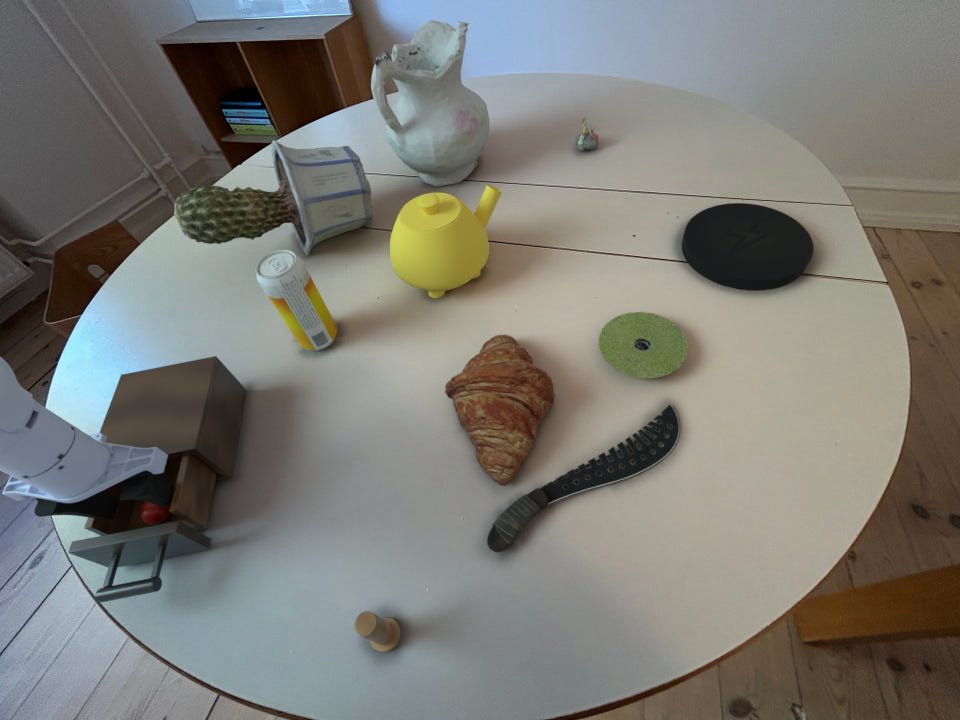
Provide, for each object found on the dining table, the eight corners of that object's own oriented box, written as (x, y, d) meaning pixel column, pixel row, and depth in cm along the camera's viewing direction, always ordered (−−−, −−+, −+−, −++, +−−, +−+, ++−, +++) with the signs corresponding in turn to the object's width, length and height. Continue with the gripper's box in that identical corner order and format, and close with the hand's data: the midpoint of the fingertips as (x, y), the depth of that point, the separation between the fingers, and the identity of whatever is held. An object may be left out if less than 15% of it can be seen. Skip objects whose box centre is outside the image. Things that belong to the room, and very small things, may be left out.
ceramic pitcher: (458, 217, 90) (444, 75, 70) (370, 192, 96) (333, 54, 75) (505, 155, 101) (505, 16, 81) (423, 136, 107) (404, 2, 86)
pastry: (593, 414, 61) (599, 377, 54) (500, 493, 56) (494, 463, 50) (505, 340, 70) (501, 301, 63) (419, 402, 65) (404, 367, 59)
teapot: (481, 218, 87) (471, 145, 76) (532, 263, 79) (529, 188, 68) (382, 267, 82) (356, 196, 71) (425, 321, 74) (404, 250, 63)
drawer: (202, 593, 52) (165, 579, 47) (97, 614, 52) (49, 602, 47) (228, 451, 63) (200, 427, 58) (141, 468, 63) (105, 445, 58)
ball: (159, 533, 56) (142, 524, 53) (146, 519, 57) (128, 510, 55) (181, 511, 57) (165, 502, 55) (168, 498, 58) (151, 488, 56)
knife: (697, 437, 58) (666, 406, 61) (702, 430, 57) (670, 399, 59) (502, 570, 51) (476, 528, 54) (501, 566, 50) (475, 524, 52)
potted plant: (338, 117, 86) (145, 138, 73) (380, 163, 77) (166, 198, 64) (346, 206, 99) (183, 238, 86) (383, 255, 90) (206, 299, 77)
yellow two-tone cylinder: (327, 316, 77) (286, 241, 65) (346, 337, 74) (307, 262, 62) (293, 337, 75) (245, 264, 63) (311, 360, 72) (263, 287, 60)
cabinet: (232, 477, 61) (194, 448, 55) (133, 497, 61) (85, 470, 55) (247, 390, 70) (216, 355, 63) (160, 407, 70) (120, 374, 63)
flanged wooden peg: (387, 659, 47) (366, 650, 42) (365, 639, 49) (342, 628, 43) (406, 630, 49) (388, 618, 43) (384, 611, 50) (364, 597, 44)
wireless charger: (680, 283, 72) (683, 273, 71) (682, 210, 82) (685, 200, 81) (815, 296, 68) (821, 286, 66) (800, 217, 78) (805, 206, 76)
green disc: (586, 331, 69) (586, 322, 67) (661, 312, 69) (664, 303, 68) (616, 395, 62) (618, 387, 60) (700, 374, 62) (704, 365, 61)
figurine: (584, 139, 99) (586, 109, 94) (603, 145, 97) (606, 115, 92) (569, 151, 97) (570, 122, 92) (588, 158, 95) (590, 127, 90)
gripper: (134, 396, 46) (213, 459, 57) (-17, 426, 46) (91, 483, 57) (111, 464, 42) (201, 518, 52) (-56, 497, 41) (69, 544, 52)
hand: (143, 504), depth 54 cm, fingers open, 6 cm apart
